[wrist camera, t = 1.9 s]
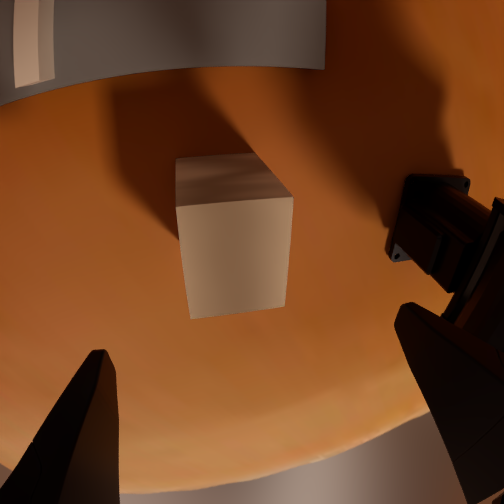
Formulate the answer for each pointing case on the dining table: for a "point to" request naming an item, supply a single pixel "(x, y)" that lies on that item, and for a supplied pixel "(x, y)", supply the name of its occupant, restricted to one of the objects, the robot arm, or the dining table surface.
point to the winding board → (150, 38)
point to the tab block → (232, 234)
